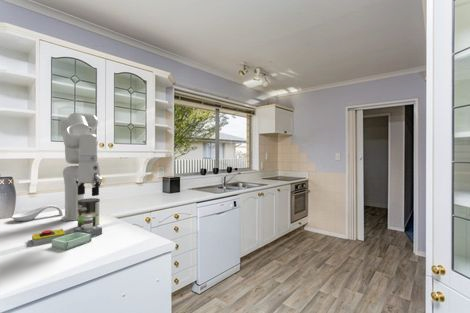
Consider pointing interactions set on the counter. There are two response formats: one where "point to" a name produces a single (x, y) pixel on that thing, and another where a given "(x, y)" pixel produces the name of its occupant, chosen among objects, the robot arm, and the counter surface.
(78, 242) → the tray
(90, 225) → the fuse
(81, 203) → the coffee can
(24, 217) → the spoon rest
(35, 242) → the emergency button
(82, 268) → the counter surface
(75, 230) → the block
